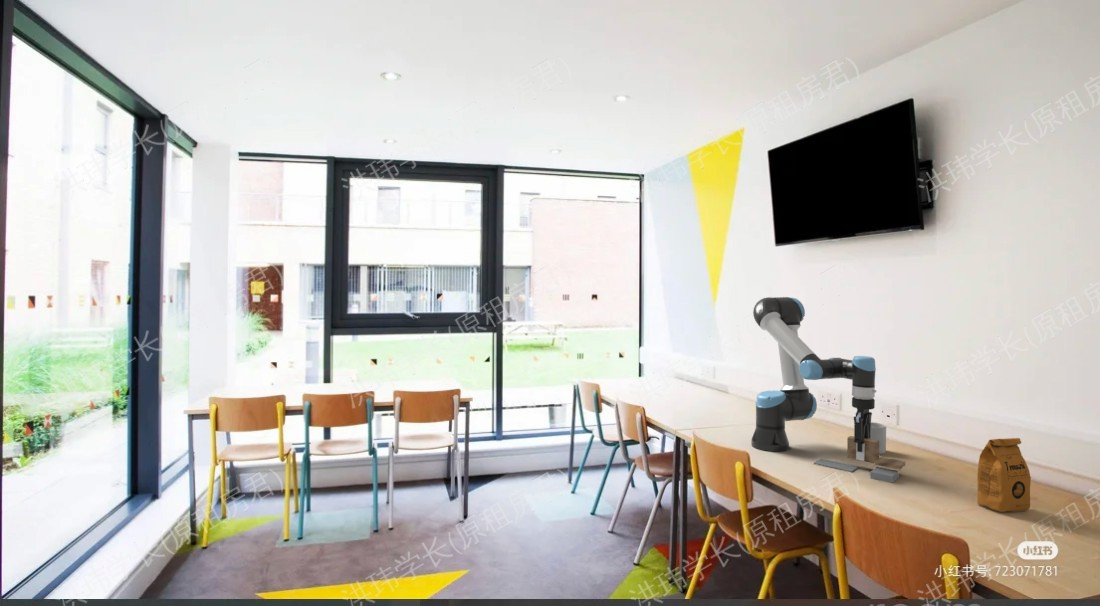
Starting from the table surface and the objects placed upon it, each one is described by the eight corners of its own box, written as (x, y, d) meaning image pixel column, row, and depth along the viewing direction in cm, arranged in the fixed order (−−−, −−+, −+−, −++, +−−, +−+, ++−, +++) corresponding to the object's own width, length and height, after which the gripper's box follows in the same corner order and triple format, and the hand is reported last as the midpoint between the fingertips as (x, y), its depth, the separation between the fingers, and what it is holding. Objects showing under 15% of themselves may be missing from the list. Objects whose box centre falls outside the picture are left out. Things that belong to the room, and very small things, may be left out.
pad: (813, 463, 219) (813, 462, 219) (820, 459, 225) (820, 458, 225) (852, 472, 209) (852, 471, 209) (859, 467, 215) (859, 466, 215)
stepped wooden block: (845, 459, 215) (845, 438, 215) (852, 455, 220) (852, 435, 220) (899, 469, 202) (900, 447, 202) (905, 465, 207) (905, 443, 207)
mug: (879, 448, 240) (879, 422, 240) (890, 454, 232) (890, 427, 232) (850, 447, 241) (850, 422, 241) (860, 453, 232) (860, 427, 232)
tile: (876, 473, 208) (870, 479, 203) (876, 466, 208) (870, 471, 203) (898, 478, 204) (892, 483, 198) (898, 471, 204) (892, 476, 198)
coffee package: (1036, 514, 171) (1038, 442, 170) (999, 515, 170) (1001, 443, 169) (1006, 501, 181) (1008, 433, 180) (971, 503, 179) (973, 434, 179)
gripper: (867, 402, 205) (866, 466, 205) (881, 395, 216) (879, 456, 217) (845, 399, 210) (843, 461, 211) (859, 393, 222) (858, 452, 222)
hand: (862, 458), depth 214 cm, fingers closed on stepped wooden block, 3 cm apart
